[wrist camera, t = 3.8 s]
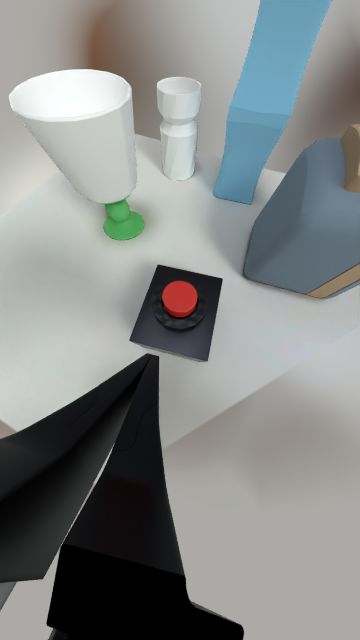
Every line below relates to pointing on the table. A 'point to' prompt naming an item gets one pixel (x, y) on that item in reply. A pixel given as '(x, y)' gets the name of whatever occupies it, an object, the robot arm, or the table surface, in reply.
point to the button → (179, 298)
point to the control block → (178, 332)
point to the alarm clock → (312, 222)
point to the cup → (86, 137)
